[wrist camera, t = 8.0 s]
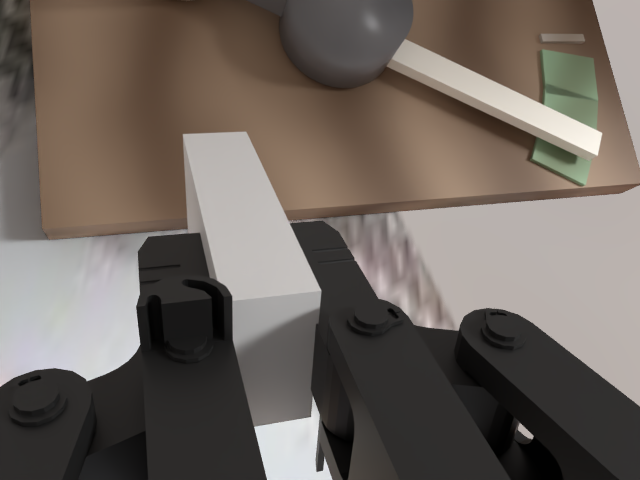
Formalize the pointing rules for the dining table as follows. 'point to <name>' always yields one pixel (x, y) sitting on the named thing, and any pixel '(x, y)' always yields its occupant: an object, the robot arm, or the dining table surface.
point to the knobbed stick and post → (406, 63)
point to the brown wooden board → (308, 111)
